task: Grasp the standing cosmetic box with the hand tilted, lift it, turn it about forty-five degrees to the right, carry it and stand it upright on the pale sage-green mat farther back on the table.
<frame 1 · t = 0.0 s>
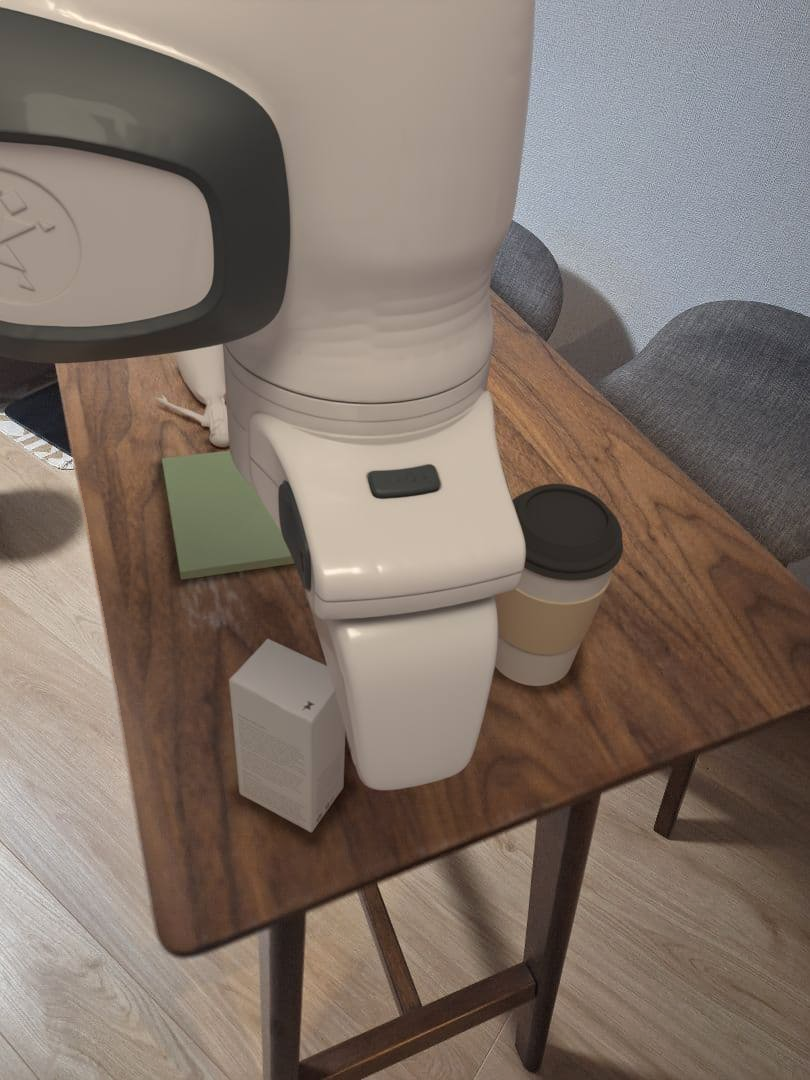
hand: (343, 664, 41), 23 cm above the table, tool pointing down, fingers open, 8 cm apart
cosmetic box: (291, 792, 62), on the table
apple: (298, 208, 136), on the table
blueberries: (489, 553, 82), on the table
teapot: (176, 173, 143), on the table
bowl: (313, 308, 113), on the table
woman figurine: (212, 404, 96), on the table
headphones: (123, 239, 124), on the table
coffee cup: (530, 653, 73), on the table
mat: (270, 506, 84), on the table
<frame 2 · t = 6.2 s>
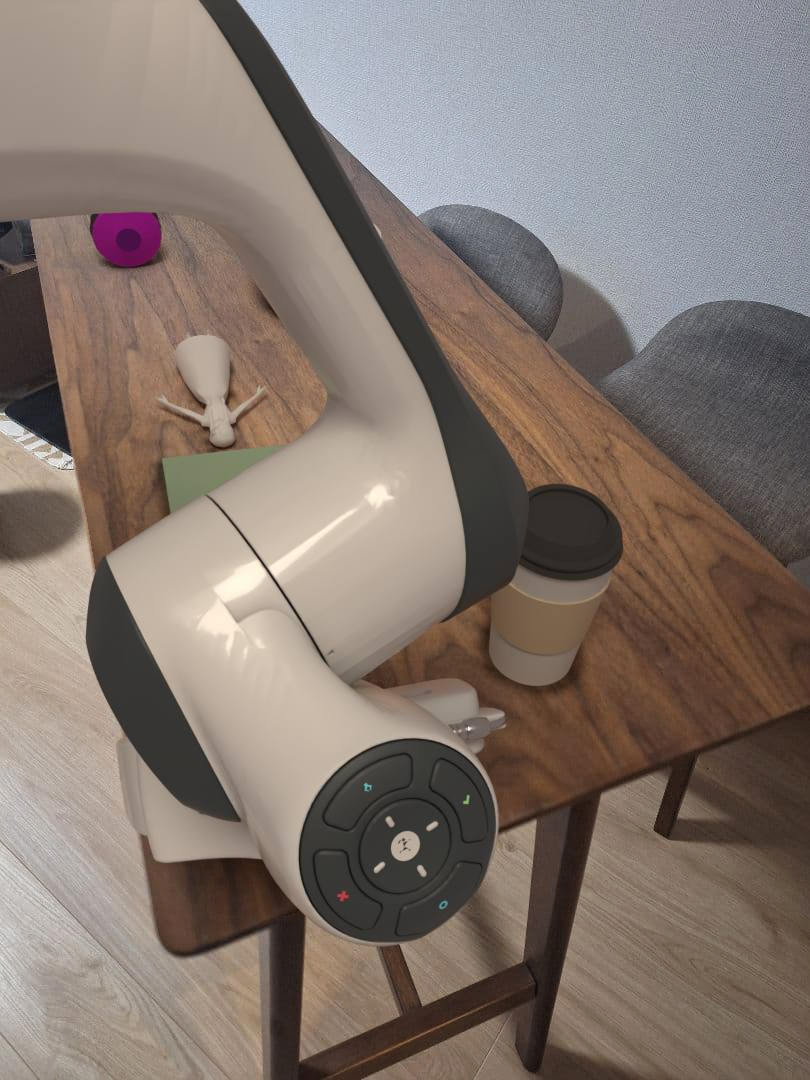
hand: (287, 724, 58), 7 cm above the table, tool tilted 45°, fingers closed on cosmetic box, 7 cm apart
cosmetic box: (291, 792, 62), on the table, touching gripper
everything else where it was.
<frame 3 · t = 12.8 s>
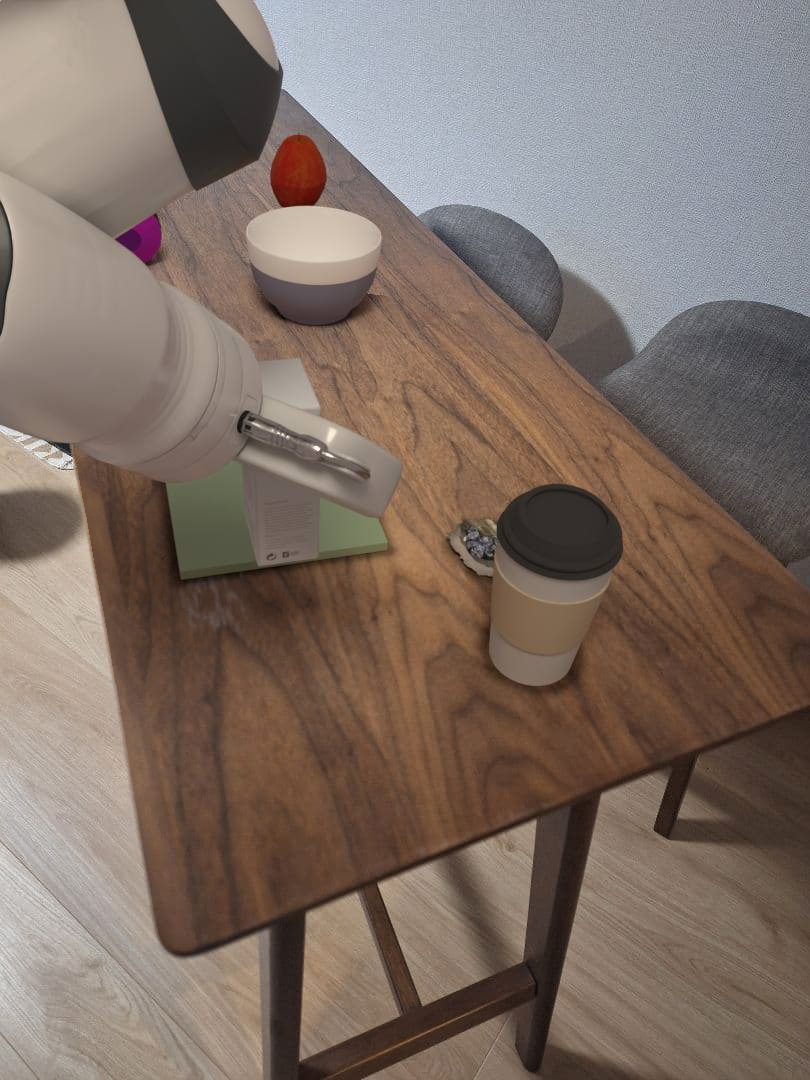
hand: (283, 452, 58), 19 cm above the table, tool tilted 45°, fingers closed on cosmetic box, 7 cm apart
cosmetic box: (280, 536, 62), point 13 cm above the table, touching gripper
everything else where it was.
when the fingers open (8 cm above the table, at t = 19.6 s): cosmetic box stays where it is, resting on mat.
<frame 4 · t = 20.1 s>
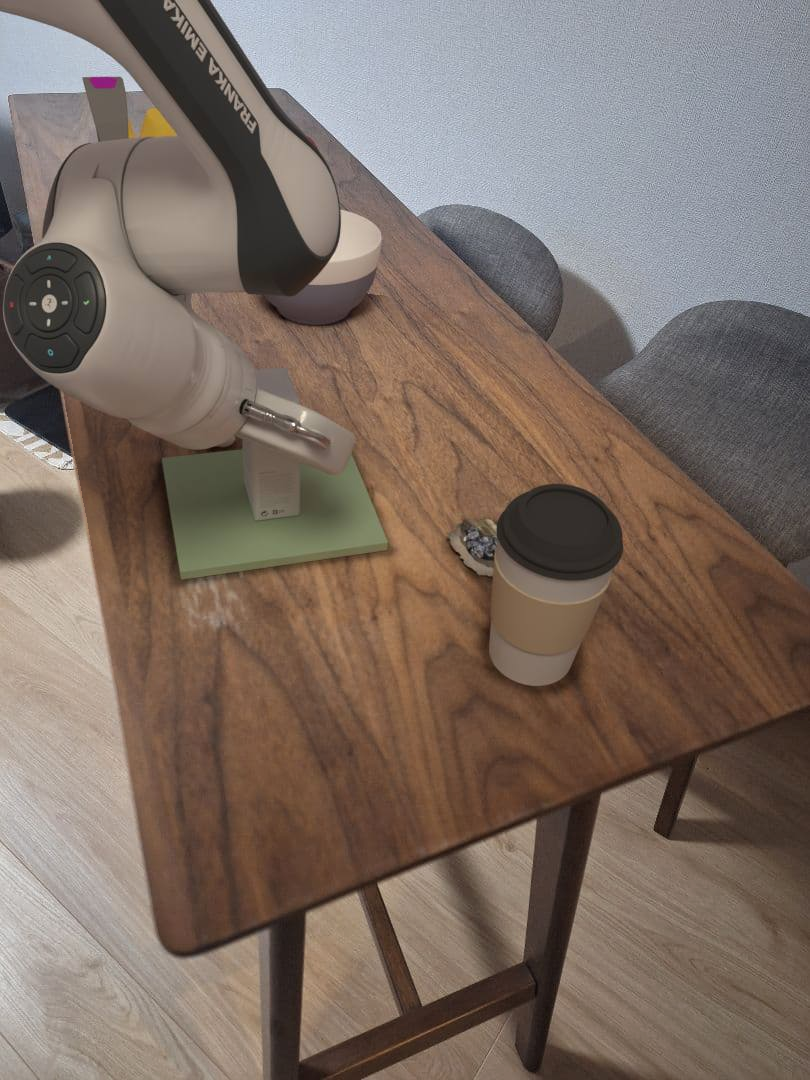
hand: (272, 432, 79), 8 cm above the table, tool tilted 45°, fingers open, 8 cm apart
cosmetic box: (271, 500, 84), point 1 cm above the table, touching mat
everything else where it was.
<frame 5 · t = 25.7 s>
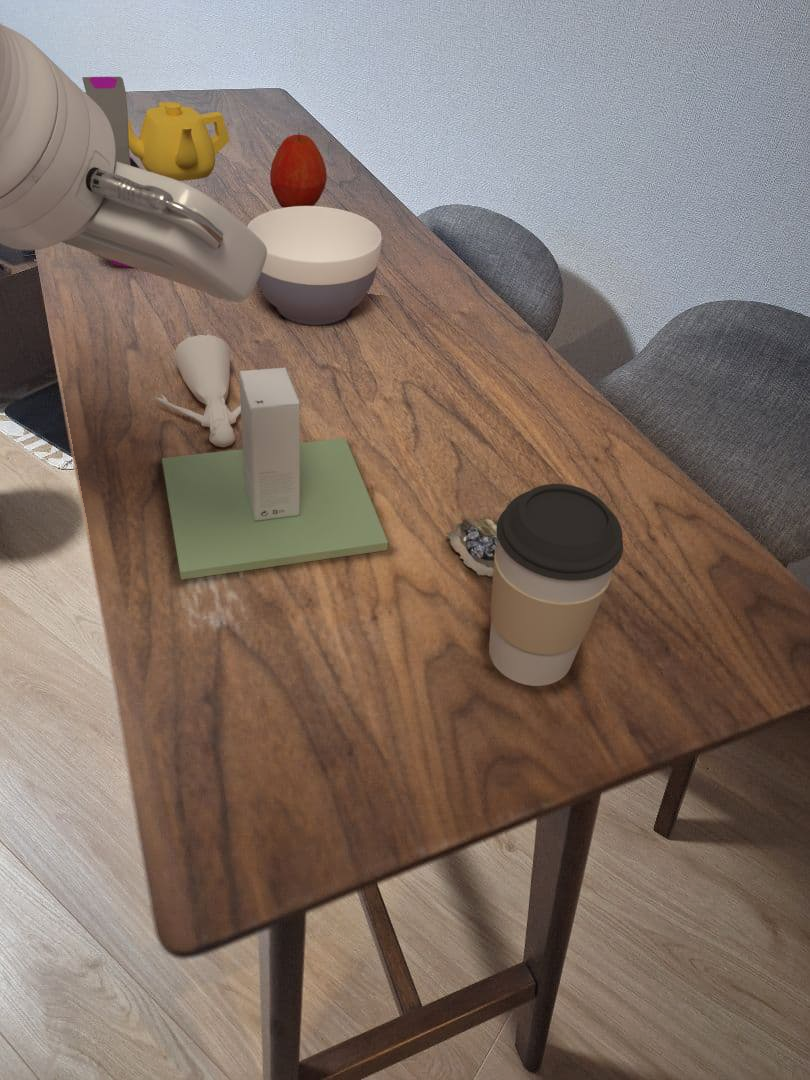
hand: (167, 267, 59), 27 cm above the table, tool tilted 45°, fingers open, 8 cm apart
nothing on the table moved.
at the end: cosmetic box inside the target area on the mat (0.1 cm from its centre), point 0.8 cm above the mat's base; cosmetic box tilted 0°; cosmetic box moved 30.2 cm from its start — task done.
